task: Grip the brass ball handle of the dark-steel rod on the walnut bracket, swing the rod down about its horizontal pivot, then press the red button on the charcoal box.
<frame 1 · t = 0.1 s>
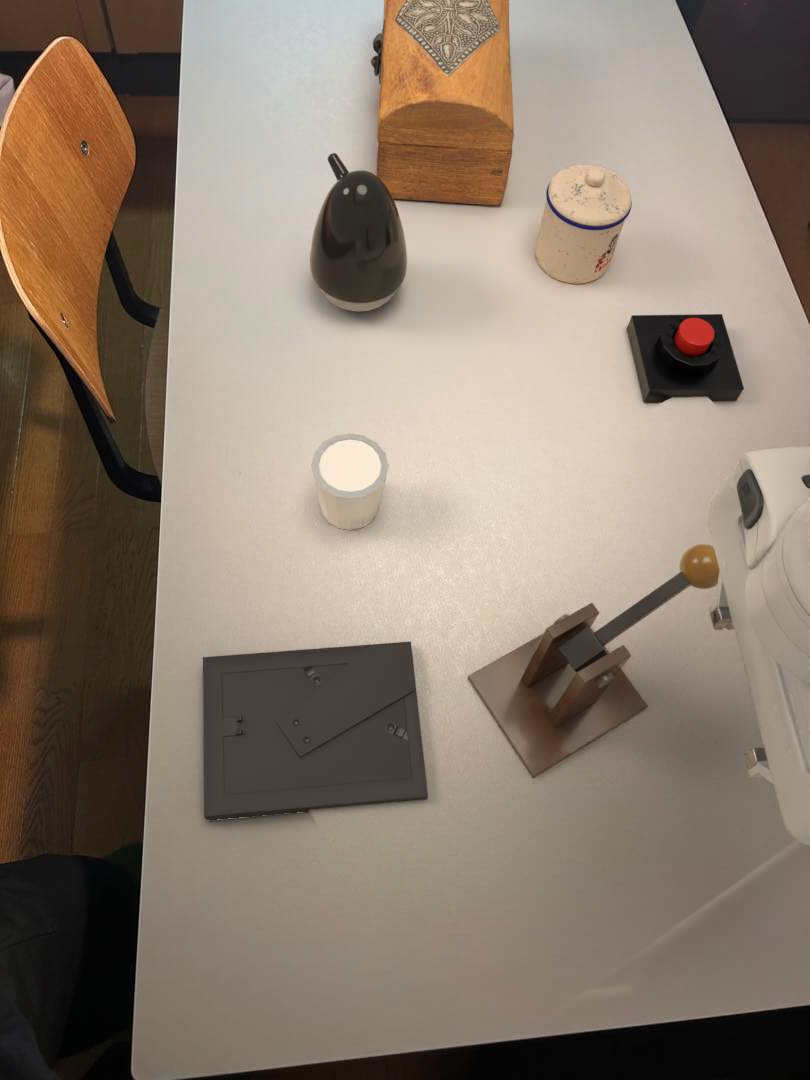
hand: (739, 690, 57), 24 cm above the table, tool pointing down, fingers open, 8 cm apart
bracket: (554, 696, 81), on the table
wooden box: (435, 119, 116), on the table
pump dispenser: (357, 291, 102), on the table
teacup with lid: (572, 249, 107), on the table
white cylinder: (349, 505, 89), on the table
button box: (680, 364, 100), on the table
button: (694, 336, 96), point 4 cm above the table, slide at 0.1 cm
rod: (644, 607, 71), point 13 cm above the table, hinge at 25.0°
picture frame: (313, 732, 79), on the table
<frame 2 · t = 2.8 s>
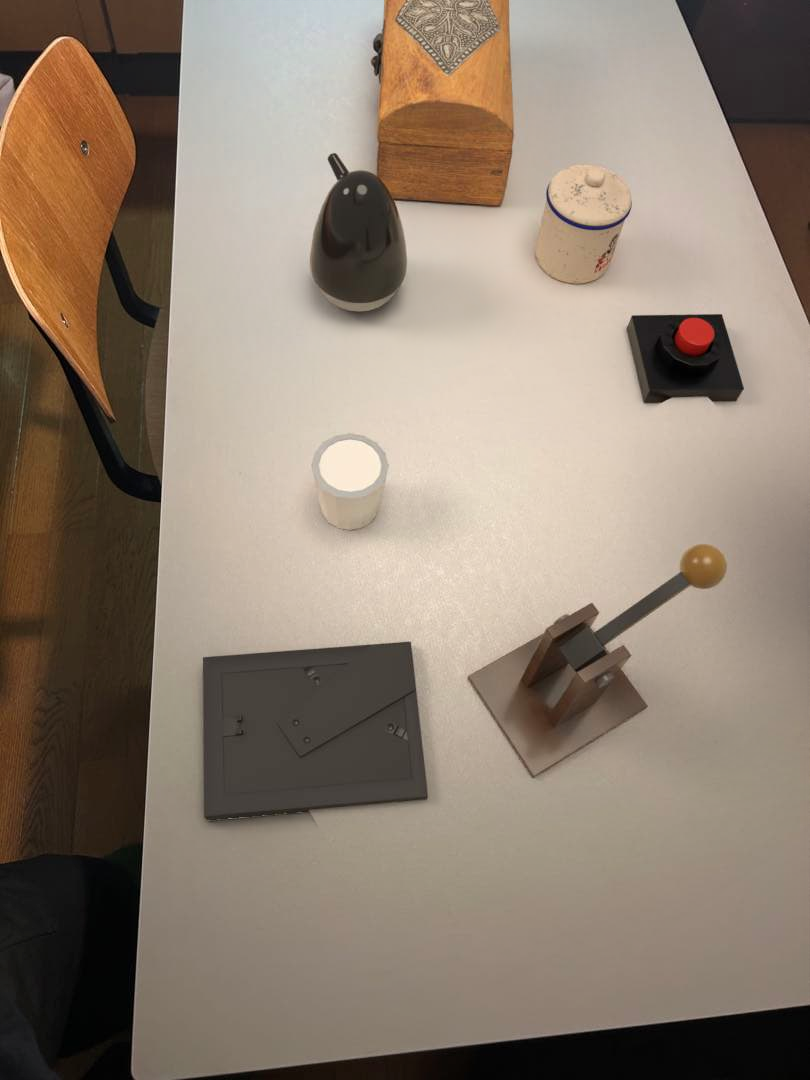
nothing on the table moved.
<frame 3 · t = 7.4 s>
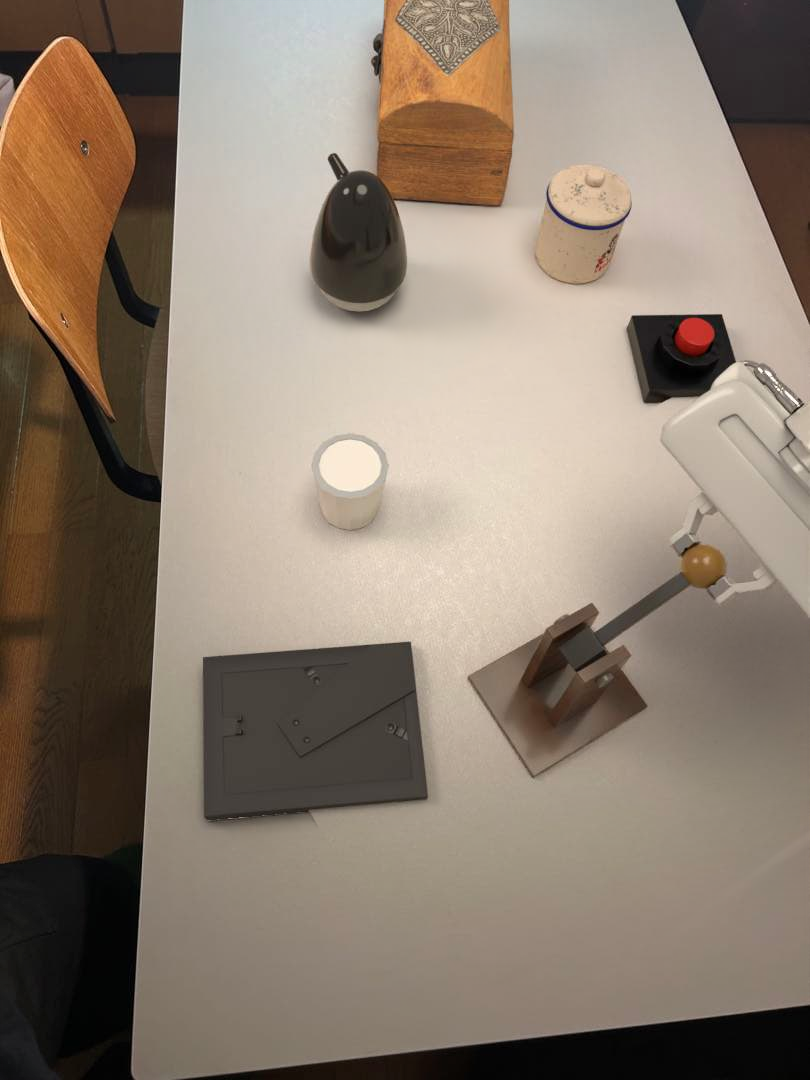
hand: (694, 574, 71), 15 cm above the table, tool tilted 45°, fingers closed on rod, 3 cm apart
rod: (644, 607, 71), point 13 cm above the table, hinge at 25.0°, touching gripper
everything else where it was.
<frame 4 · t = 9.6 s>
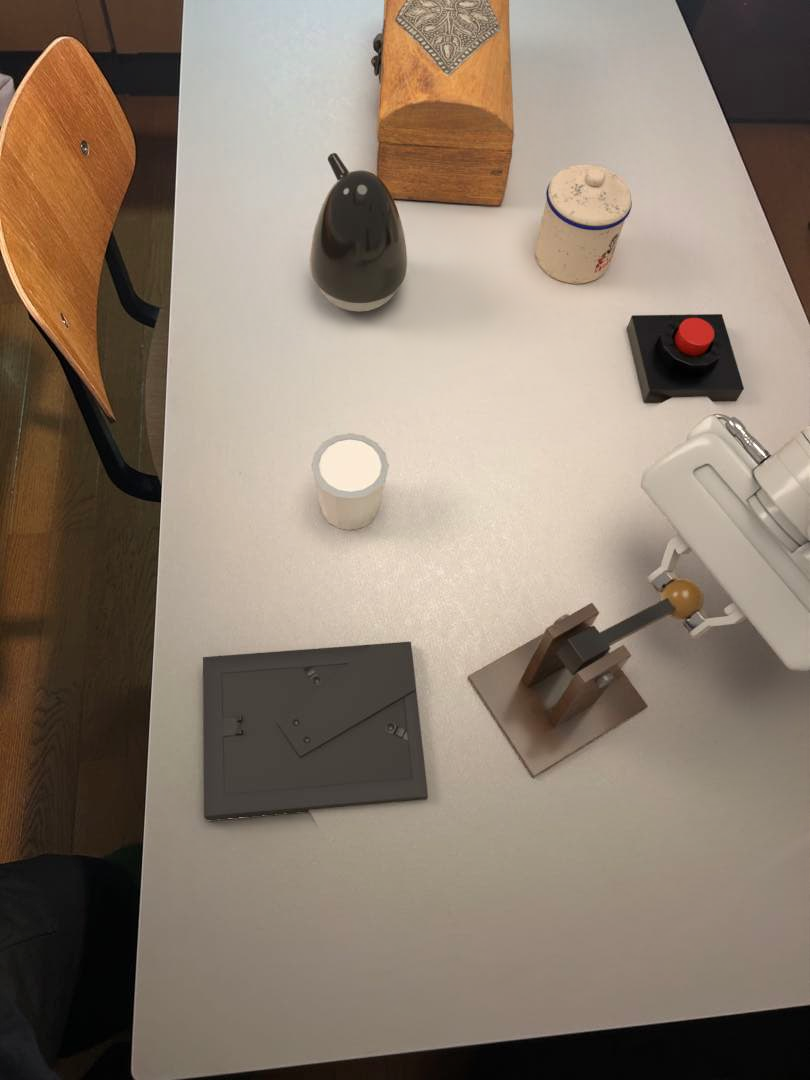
hand: (671, 608, 77), 8 cm above the table, tool tilted 45°, fingers closed on rod, 3 cm apart
rod: (635, 623, 74), point 10 cm above the table, hinge at -11.5°, touching gripper
everything else where it was.
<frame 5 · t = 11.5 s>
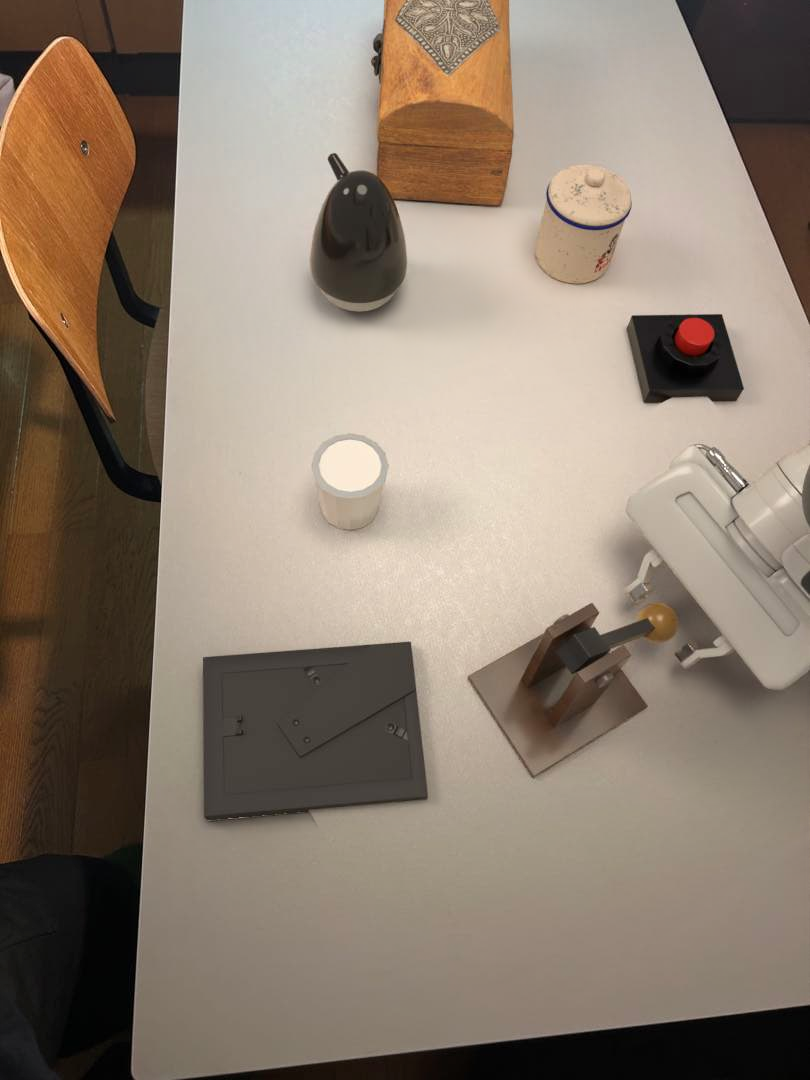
hand: (655, 628, 81), 4 cm above the table, tool tilted 45°, fingers open, 6 cm apart
rod: (623, 635, 75), point 8 cm above the table, hinge at -30.7°
everything else where it was.
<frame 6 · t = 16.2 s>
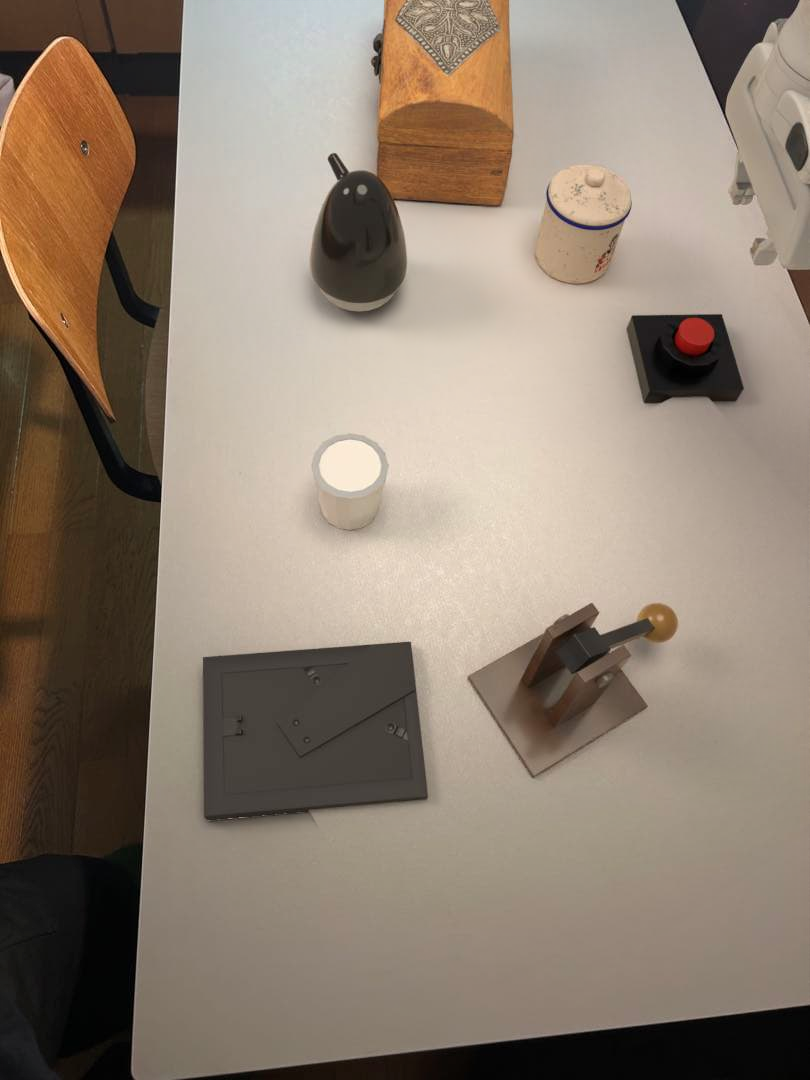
hand: (748, 228, 83), 19 cm above the table, tool pointing down, fingers open, 6 cm apart
nothing on the table moved.
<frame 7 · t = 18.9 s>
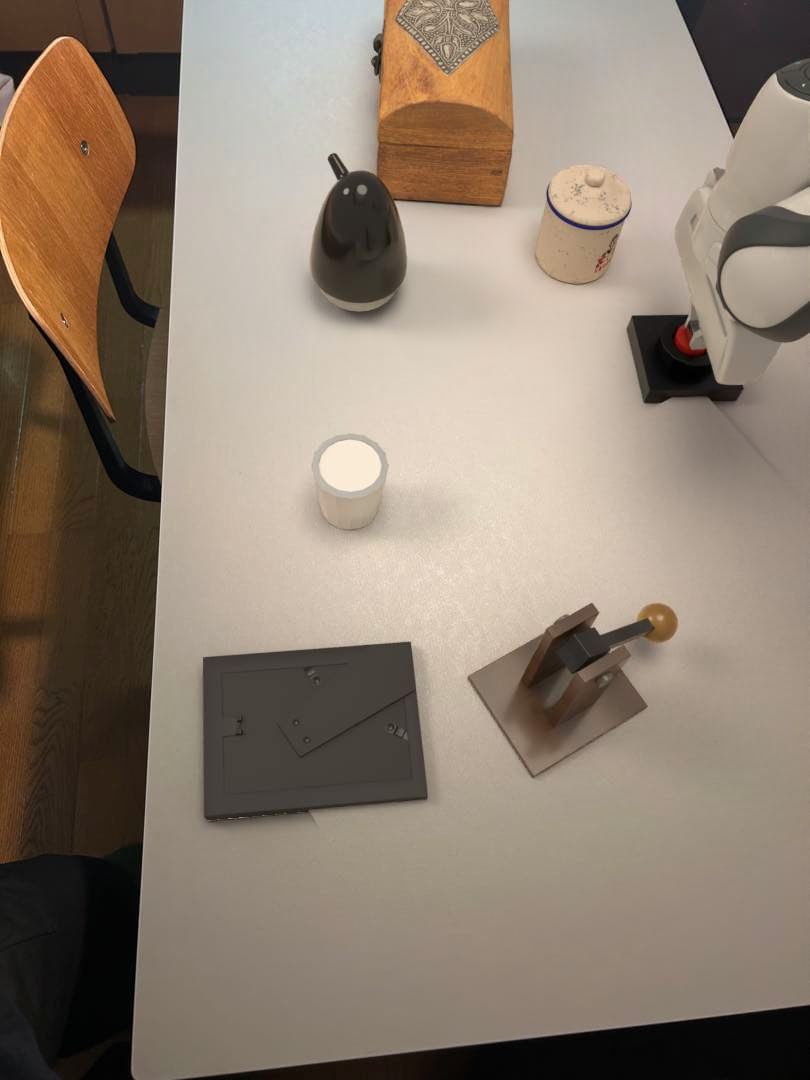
hand: (694, 338, 95), 5 cm above the table, tool pointing down, fingers closed, pressing on button
button: (691, 342, 96), point 4 cm above the table, slide at -0.7 cm, touching gripper
everything else where it was.
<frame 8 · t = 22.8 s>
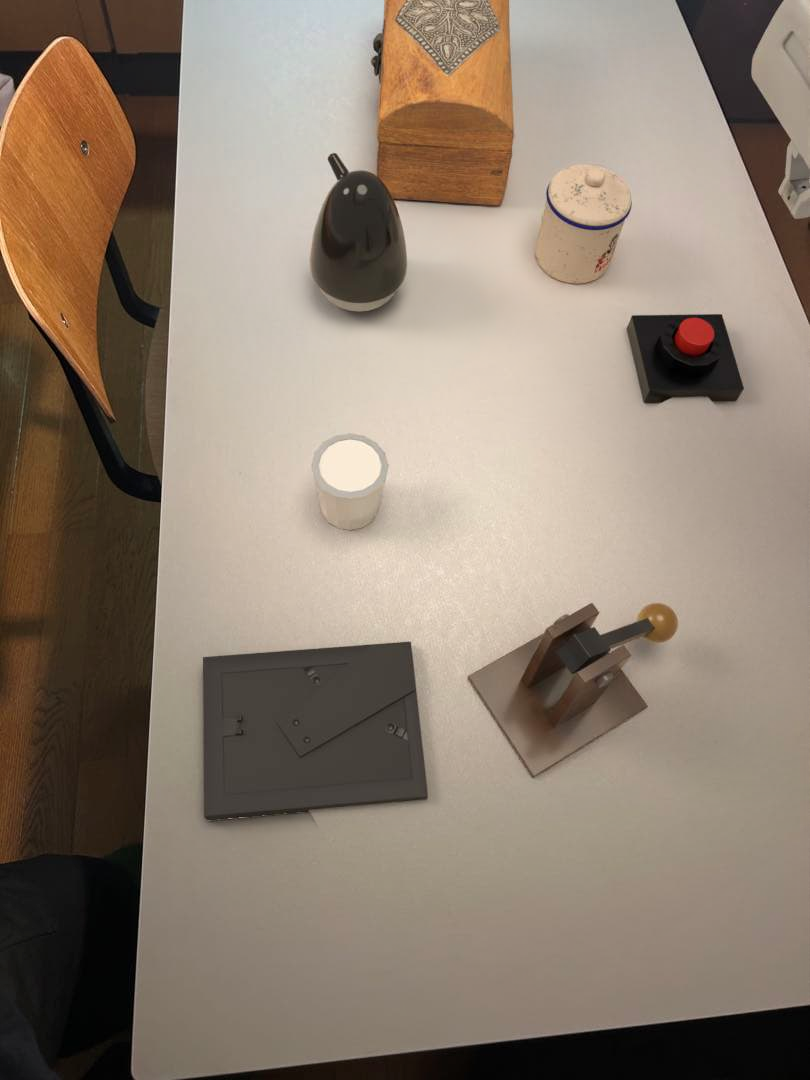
hand: (794, 205, 73), 27 cm above the table, tool pointing down, fingers closed
button: (694, 336, 96), point 4 cm above the table, slide at 0.1 cm
everything else where it was.
at the end: rod at -31° (first picture: +25°); button pushed in 1.2 cm at the most during the clip, back to where it started at the end; button slide at 0.1 cm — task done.
